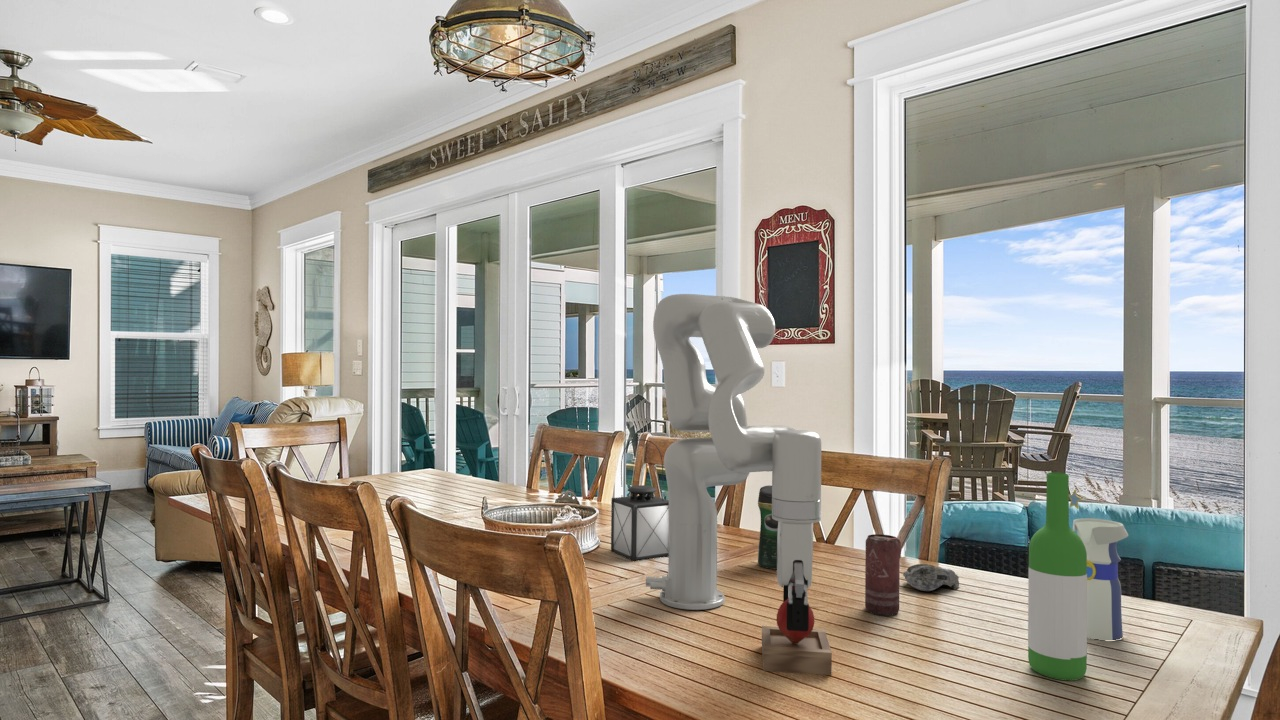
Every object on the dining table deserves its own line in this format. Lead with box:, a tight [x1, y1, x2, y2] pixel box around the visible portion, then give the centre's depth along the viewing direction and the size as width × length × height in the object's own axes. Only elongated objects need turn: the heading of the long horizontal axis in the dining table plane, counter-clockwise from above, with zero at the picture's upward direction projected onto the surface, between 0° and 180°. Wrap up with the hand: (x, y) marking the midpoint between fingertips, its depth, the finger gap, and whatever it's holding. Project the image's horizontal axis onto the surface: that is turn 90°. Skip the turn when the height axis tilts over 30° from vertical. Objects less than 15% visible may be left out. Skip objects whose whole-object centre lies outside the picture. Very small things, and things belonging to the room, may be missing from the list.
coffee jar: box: [757, 485, 778, 570], centre depth 171 cm, size 10×8×19 cm
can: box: [864, 533, 902, 617], centre depth 140 cm, size 6×6×14 cm
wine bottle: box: [1027, 471, 1088, 681], centre depth 112 cm, size 8×8×30 cm
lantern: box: [610, 439, 669, 562], centre depth 182 cm, size 11×11×28 cm
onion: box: [775, 599, 815, 644], centre depth 116 cm, size 6×6×8 cm
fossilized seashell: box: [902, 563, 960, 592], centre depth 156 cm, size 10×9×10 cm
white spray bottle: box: [1069, 489, 1129, 641], centre depth 129 cm, size 8×9×25 cm
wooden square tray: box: [761, 625, 833, 676], centre depth 116 cm, size 10×10×3 cm
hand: (795, 619), depth 116 cm, fingers open, 9 cm apart
